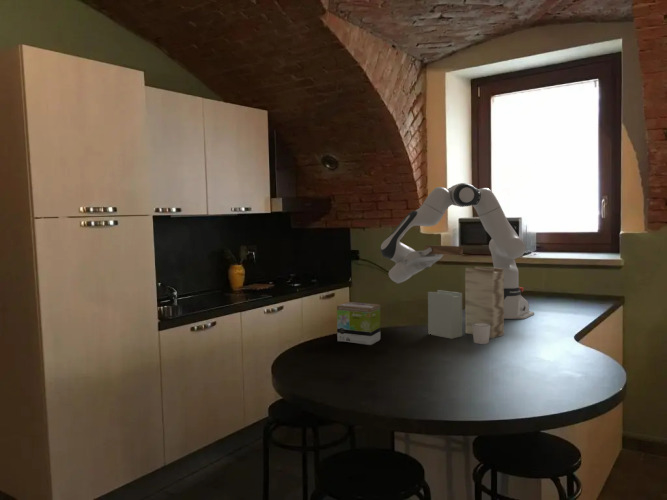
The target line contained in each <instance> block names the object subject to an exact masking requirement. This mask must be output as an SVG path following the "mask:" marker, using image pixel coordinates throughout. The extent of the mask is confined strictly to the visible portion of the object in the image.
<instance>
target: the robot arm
mask: <svg viewBox="0 0 667 500" xmlns="http://www.w3.org/2000/svg"><path fill="white" fill-rule="evenodd" d="M498 200H499V199H497V197H496V195H495V193H493V191H492V190H491V189H490V188H488V187H482V188H479V189H478V188H477V187H475V186H474V185H472V184H470V183H466V182H463V183H462V182H460V183H457V184H455V185H452V186H451V187H448V188H445V187H442V186H437V187H435V188H434V189H433V190H432V191H431V192H430V193H429V194H428V196H427V197H426V198H425V200H424V201H423V203H422V205H420V207H419V208H417V209H416V210H412V211H410V212H409V213H408V214H406V216H404V217H403V219H402V221H400V223H399V224H398V225H397V226H396V228H395V229H394V230H393V231H392V232H391V233H390V234H389V235H388V236H387V237H386V238H385V239H384V240H383V241H382V242H381V245H380V247H379V248H380V253H381V255H382V257H383V258H386V259H388V260H390V261H392V262H394V263H395V265H393V266H392V268H391V269H390V270H389V271H388V277H389V278H390V280H391V281H392V282H394V283H395V284H401V283H403V282H406V281H407V280H409V279H410V278H412V276H414V275H417V274H418V273H419V272H421V271H423V270H427V269H429V268H431V267H432V265H433V264H435V263H436V262H438V261H440V260H441V258H443V256H444V254H428V253H431V252H432V251H433V248H432V247H431V248H428V249H426V250H425V249H424V250H415V249H414V248H412V247H411V246H408V245H406V244H404V243H403V242H402V241H400V240H402V238H403V237H404V235H405V234H406V233H407V232H408V231H409V230H410V229H411V228H412V227H415V226H416V227H417V226H420V227H433V226H436V225H437V224H438V223H439V222H440V221H441V220H442V219H443V217H444V214H445V213H446V212H447V210H448V209H449V207H451V206H455V207H461V208H463V207H471V206H472V207H473V209H474V210H475V212H476V213H477V215H478V218H479V220H480V222H481V224H482V226H483V229H484V231H485V232H486V233H487V234H488V235H489V236H490V238H491V239H490V241H489V243H488V250H489V252H490V253H491V260H492V264H493V268H502V269H503V271H504V320H505V319H506V320H507V319H508V320H510V319H511V320H516V319H518V320H525V319H527V318H529V317H531V316H534V315H535V312H534V311H531V310H530V305H529V301H528V300H526V299H525V298H524V297H523V296H522V292H524V287H521V286H520V284H519V283H520V282H519V278H520V277H519V275H520V274H519V269H518V267H517V264H516V260H515V259H518V258H520V257H522V256H523V255H524V254H525V252H526V244H525V242H524V240H523V239H521V237H519V235H518V233H517V232H516V230H515V229H514V227H513V226H512V225H511V223H510V222H509V220H508V218H507V216H506V215H505V212H504V211H503V207H502V206H501V204H500V201H498Z"/></svg>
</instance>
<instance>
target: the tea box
mask: <svg viewBox="0 0 667 500" xmlns="http://www.w3.org/2000/svg"><path fill="white" fill-rule="evenodd" d="M336 336H337V342H345V343H354V344H359V345H367V346H373V345H374V344H376V343H377V342H379V341H380V340H381V304H378V303H365V302H352V301H347V302H344V303H340V304H339V305H336Z"/></svg>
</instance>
